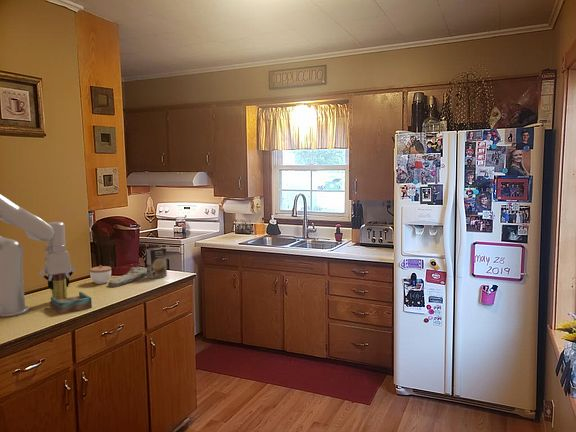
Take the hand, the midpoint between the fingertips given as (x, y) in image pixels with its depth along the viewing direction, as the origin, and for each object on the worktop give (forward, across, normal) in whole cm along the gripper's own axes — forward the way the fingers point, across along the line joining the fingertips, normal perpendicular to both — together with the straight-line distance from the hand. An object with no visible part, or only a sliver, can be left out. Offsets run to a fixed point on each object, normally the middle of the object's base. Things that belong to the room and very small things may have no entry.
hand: (58, 287), depth 214 cm
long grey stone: (+7, +42, +18) cm, 46 cm away
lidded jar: (+7, +27, +22) cm, 35 cm away
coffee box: (+7, +55, +14) cm, 57 cm away
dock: (+7, +1, -13) cm, 15 cm away
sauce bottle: (+7, 0, 0) cm, 7 cm away
